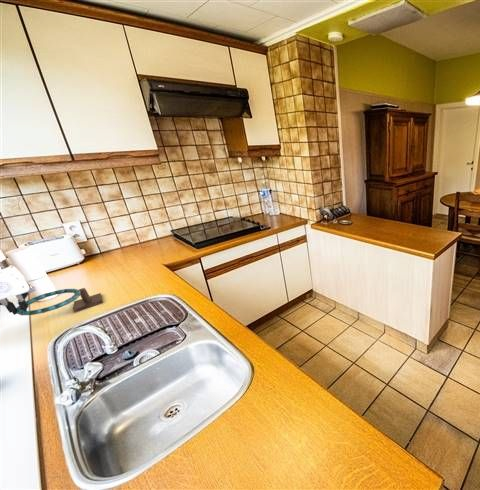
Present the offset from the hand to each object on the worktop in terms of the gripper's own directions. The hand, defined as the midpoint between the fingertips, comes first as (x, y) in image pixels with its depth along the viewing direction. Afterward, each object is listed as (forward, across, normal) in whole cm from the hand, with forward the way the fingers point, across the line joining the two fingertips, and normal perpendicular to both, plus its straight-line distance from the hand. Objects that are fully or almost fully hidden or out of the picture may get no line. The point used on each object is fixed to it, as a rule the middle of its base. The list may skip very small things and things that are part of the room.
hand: (20, 311), depth 98 cm
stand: (+11, +15, +14) cm, 23 cm away
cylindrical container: (+12, +1, +39) cm, 40 cm away
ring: (0, +8, 0) cm, 8 cm away
